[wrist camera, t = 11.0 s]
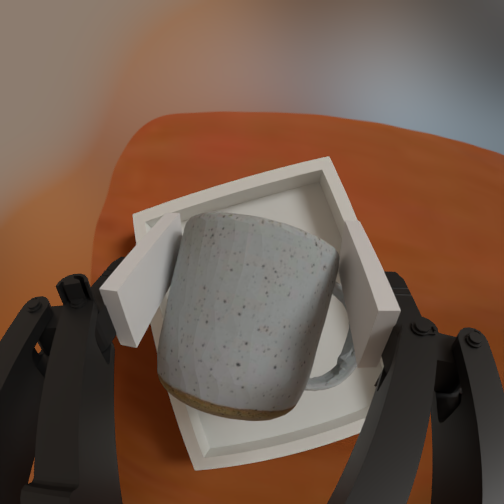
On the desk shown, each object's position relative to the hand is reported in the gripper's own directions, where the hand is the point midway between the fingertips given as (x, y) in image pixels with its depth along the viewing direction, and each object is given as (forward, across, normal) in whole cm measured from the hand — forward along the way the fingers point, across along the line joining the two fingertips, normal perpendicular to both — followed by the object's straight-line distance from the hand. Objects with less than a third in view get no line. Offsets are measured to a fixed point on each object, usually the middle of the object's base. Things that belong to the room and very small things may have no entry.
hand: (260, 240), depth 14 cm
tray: (+4, 0, -8) cm, 9 cm away
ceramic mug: (0, +1, -6) cm, 6 cm away
